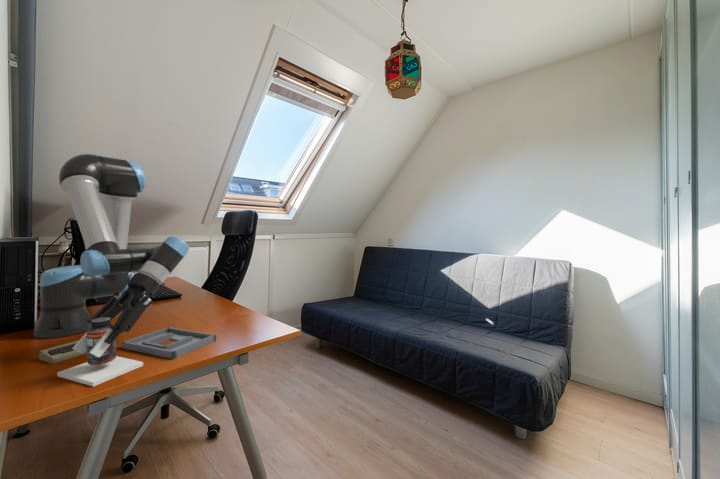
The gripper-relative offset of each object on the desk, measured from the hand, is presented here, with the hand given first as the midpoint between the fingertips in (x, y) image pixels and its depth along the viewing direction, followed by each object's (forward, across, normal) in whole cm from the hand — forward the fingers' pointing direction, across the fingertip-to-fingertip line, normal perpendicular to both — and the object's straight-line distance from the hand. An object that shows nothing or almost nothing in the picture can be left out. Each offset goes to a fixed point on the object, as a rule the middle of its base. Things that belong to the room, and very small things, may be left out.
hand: (85, 352), depth 77 cm
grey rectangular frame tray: (-12, 0, -21) cm, 24 cm away
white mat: (+2, 0, -7) cm, 7 cm away
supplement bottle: (0, 0, -5) cm, 5 cm away
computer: (-2, +20, -12) cm, 23 cm away
